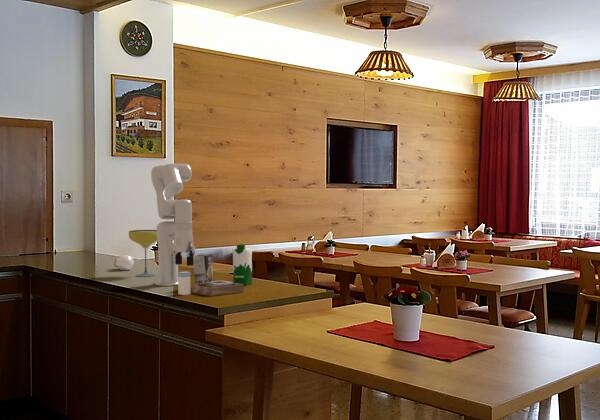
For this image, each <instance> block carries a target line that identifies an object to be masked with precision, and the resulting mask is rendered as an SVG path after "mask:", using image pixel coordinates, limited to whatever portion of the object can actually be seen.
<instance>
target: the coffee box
mask: <svg viewBox="0 0 600 420" xmlns="http://www.w3.org/2000/svg"><path fill="white" fill-rule="evenodd" d="M213 258H214V257H213V254H211V253H210V254H209V253H206V254H197V255H194V285H195V284H204V283H206V282H211V281H214V280H213V279H214V278H213V277H214V276H213V274H214V273H213V269H214V268H213V263H214V261H213Z"/></svg>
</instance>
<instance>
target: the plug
mask: <svg viewBox="0 0 600 420" xmlns="http://www.w3.org/2000/svg"><path fill="white" fill-rule="evenodd" d="M191 274H192V273H191V271H178V285H177V291H178V292H177V293H178V295H181V296H187V295H191V293H192V292H191V277H192V276H191Z"/></svg>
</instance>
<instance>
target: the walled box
mask: <svg viewBox="0 0 600 420" xmlns="http://www.w3.org/2000/svg"><path fill="white" fill-rule="evenodd" d="M244 287H245V286H244V285H243V284H237V283H233V286H226V287H217V288H207V287H206V283H204V284H195V283H194V284H190V291H191V293H193V294H198V295H203V296H207V297H216V296H217V295H218V296H224V295H225V294H226V295H232V294H238V293H239V294H240V293H244V292H245V288H244ZM218 296H217V297H218Z"/></svg>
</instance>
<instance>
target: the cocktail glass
mask: <svg viewBox="0 0 600 420" xmlns="http://www.w3.org/2000/svg"><path fill="white" fill-rule="evenodd" d="M128 237H129V239H130V241H132V242H134V243H136V244H138V245H140V246H141V247H142V248H143V249H144V272H143V273H139V274H136V275H135V277H137V276H138V277H139V278H150V277H149V276H152V277H156V276H155V275H156V274H154V273H150V272H148V269H147V249H148V248H149V247H150V246H152V244H154V243H157V242H158V238H157V232H156V229H138V230H137V229H136V230H135V229H134V230H133V229H132V230H129V231H128Z"/></svg>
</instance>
